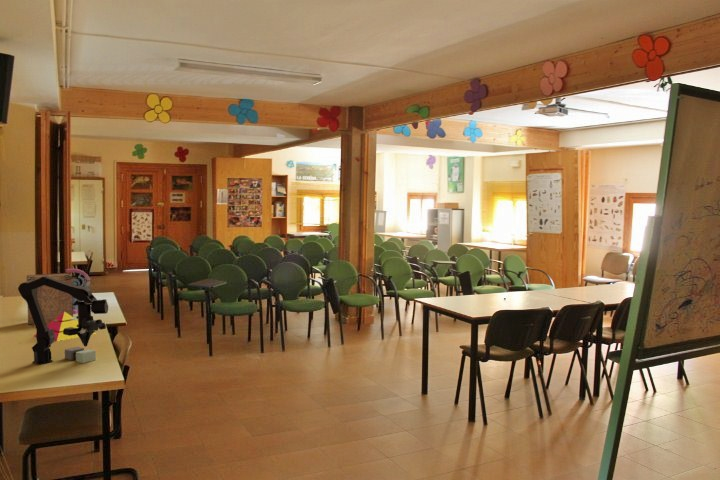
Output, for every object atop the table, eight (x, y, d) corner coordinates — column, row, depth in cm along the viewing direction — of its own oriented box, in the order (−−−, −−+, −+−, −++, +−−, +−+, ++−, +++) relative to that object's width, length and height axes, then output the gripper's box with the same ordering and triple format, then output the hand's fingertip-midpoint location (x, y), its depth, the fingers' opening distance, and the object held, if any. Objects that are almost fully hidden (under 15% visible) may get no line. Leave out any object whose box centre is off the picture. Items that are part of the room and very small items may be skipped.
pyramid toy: (98, 334, 342) (97, 310, 341) (56, 343, 321) (55, 317, 320) (73, 329, 356) (72, 305, 355) (31, 337, 335) (30, 312, 334)
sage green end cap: (76, 361, 283) (75, 352, 282) (89, 358, 288) (88, 349, 288) (82, 363, 280) (82, 353, 279) (95, 360, 285) (95, 350, 285)
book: (27, 325, 365) (26, 276, 363) (28, 322, 373) (26, 275, 371) (73, 321, 377) (71, 274, 375) (72, 318, 385) (71, 272, 383)
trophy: (91, 308, 419) (90, 266, 417) (91, 312, 404) (89, 269, 402) (60, 310, 412) (58, 268, 410) (58, 315, 396) (56, 270, 394)
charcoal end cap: (84, 357, 290) (83, 348, 290) (71, 360, 285) (71, 351, 285) (77, 355, 293) (77, 346, 293) (64, 358, 288) (64, 349, 287)
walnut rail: (83, 361, 283) (83, 356, 282) (71, 358, 288) (71, 353, 288) (89, 360, 285) (89, 354, 285) (77, 357, 290) (77, 352, 290)
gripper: (75, 319, 270) (76, 352, 271) (112, 312, 286) (113, 344, 287) (61, 316, 276) (63, 349, 277) (98, 310, 292) (99, 341, 293)
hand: (85, 346), depth 283 cm, fingers closed
